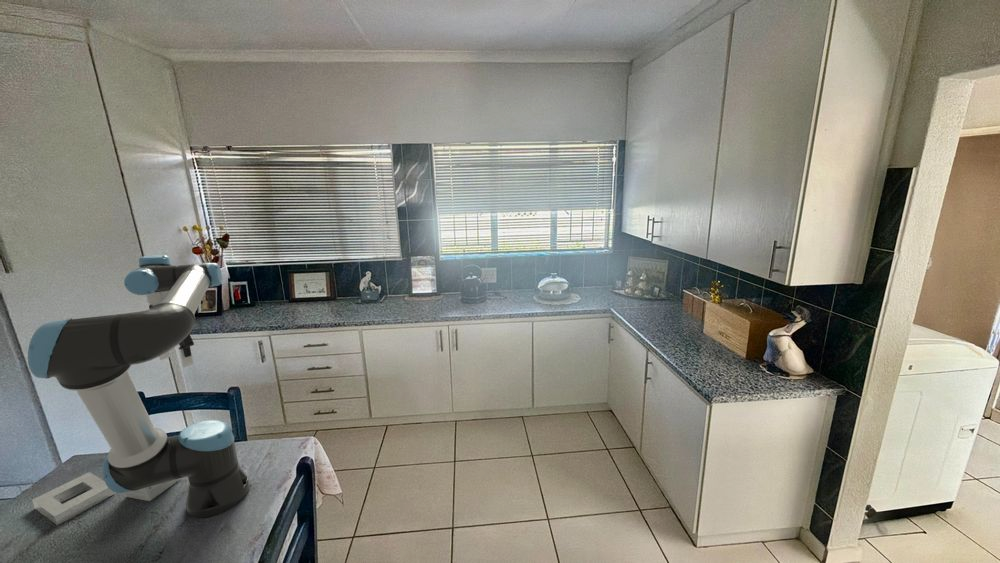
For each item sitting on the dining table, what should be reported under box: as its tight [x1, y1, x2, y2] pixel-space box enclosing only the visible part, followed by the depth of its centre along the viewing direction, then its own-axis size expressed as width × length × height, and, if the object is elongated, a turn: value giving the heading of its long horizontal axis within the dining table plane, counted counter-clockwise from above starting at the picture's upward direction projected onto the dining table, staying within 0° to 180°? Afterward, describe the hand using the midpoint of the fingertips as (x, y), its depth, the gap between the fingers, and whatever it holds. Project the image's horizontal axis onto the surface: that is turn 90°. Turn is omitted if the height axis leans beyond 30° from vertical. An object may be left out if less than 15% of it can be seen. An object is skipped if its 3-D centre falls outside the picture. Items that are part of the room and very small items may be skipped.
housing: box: [31, 472, 116, 526], centre depth 111 cm, size 14×12×3 cm
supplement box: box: [124, 479, 180, 502], centre depth 115 cm, size 9×9×15 cm
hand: (176, 361), depth 130 cm, fingers open, 13 cm apart
